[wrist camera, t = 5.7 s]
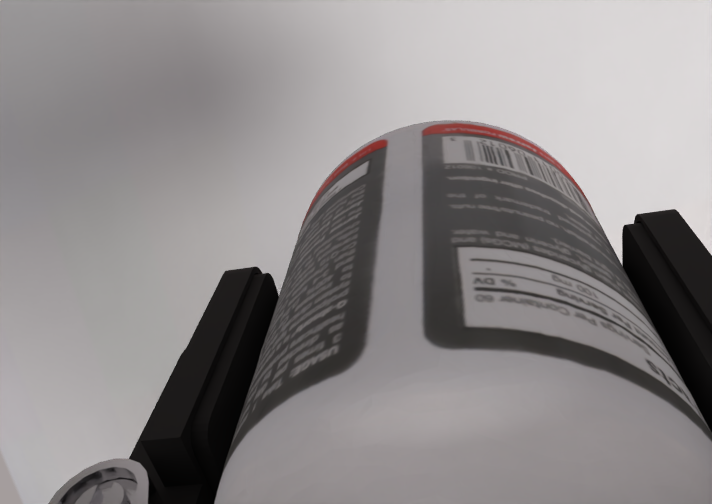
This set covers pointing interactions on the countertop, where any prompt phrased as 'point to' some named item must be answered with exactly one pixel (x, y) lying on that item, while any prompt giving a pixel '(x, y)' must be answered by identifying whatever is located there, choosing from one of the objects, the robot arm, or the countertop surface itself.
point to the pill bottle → (462, 344)
